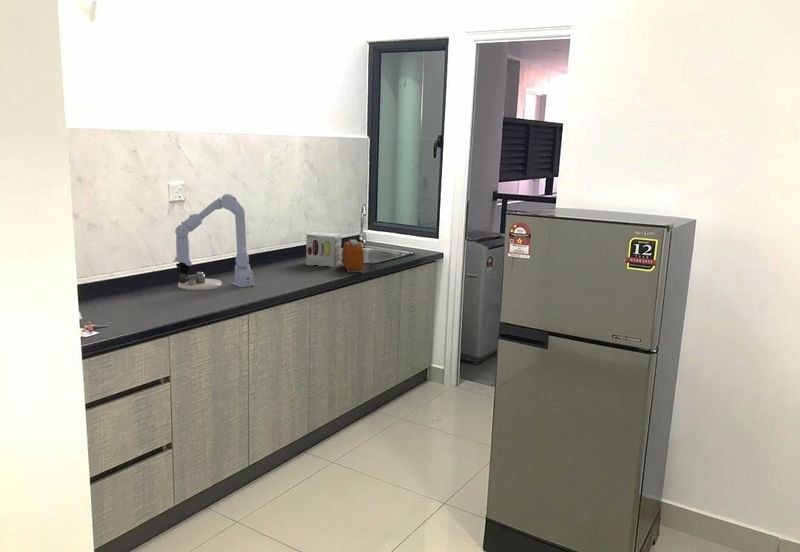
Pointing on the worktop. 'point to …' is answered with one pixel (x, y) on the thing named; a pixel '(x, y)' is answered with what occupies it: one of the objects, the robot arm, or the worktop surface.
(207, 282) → the base
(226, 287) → the worktop surface
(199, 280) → the latch lever
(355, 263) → the orange plastic container
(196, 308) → the worktop surface
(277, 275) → the worktop surface
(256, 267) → the worktop surface
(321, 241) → the supplement box
